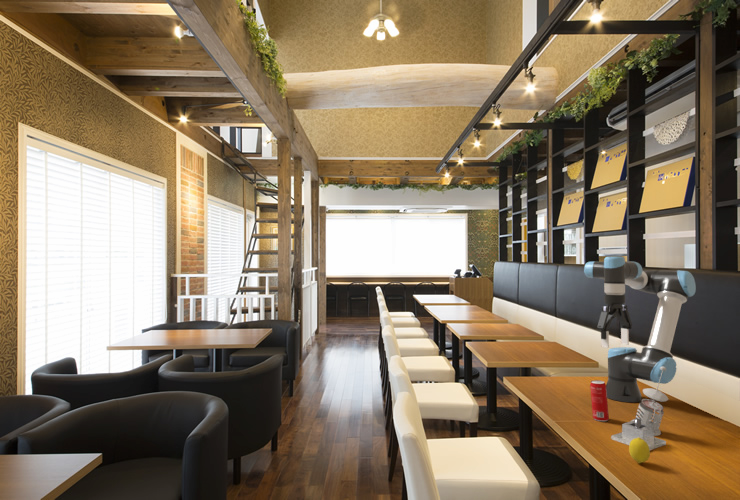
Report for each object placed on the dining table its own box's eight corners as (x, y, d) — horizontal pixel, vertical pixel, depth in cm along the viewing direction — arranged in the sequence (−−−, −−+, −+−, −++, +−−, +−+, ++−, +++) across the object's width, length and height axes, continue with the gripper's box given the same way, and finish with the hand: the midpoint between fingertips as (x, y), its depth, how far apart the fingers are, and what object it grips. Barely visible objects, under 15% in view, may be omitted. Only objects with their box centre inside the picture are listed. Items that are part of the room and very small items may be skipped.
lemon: (625, 459, 140) (624, 434, 140) (641, 459, 140) (641, 433, 141) (637, 467, 134) (636, 441, 135) (654, 467, 135) (653, 440, 135)
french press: (657, 424, 167) (675, 364, 161) (665, 442, 156) (685, 379, 151) (628, 416, 170) (645, 357, 164) (634, 433, 159) (653, 371, 154)
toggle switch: (630, 432, 162) (630, 411, 163) (665, 444, 152) (665, 422, 152) (611, 438, 156) (611, 417, 157) (646, 451, 146) (646, 428, 146)
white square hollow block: (633, 433, 159) (633, 420, 159) (654, 439, 153) (653, 426, 153) (622, 436, 155) (622, 423, 156) (642, 443, 149) (642, 430, 149)
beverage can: (611, 422, 173) (611, 383, 174) (594, 421, 174) (594, 383, 174) (604, 417, 179) (604, 379, 179) (588, 416, 180) (587, 379, 180)
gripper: (623, 292, 190) (624, 341, 190) (587, 294, 178) (587, 346, 178) (641, 293, 184) (641, 344, 183) (604, 295, 172) (605, 350, 171)
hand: (615, 345), depth 180 cm, fingers open, 13 cm apart
